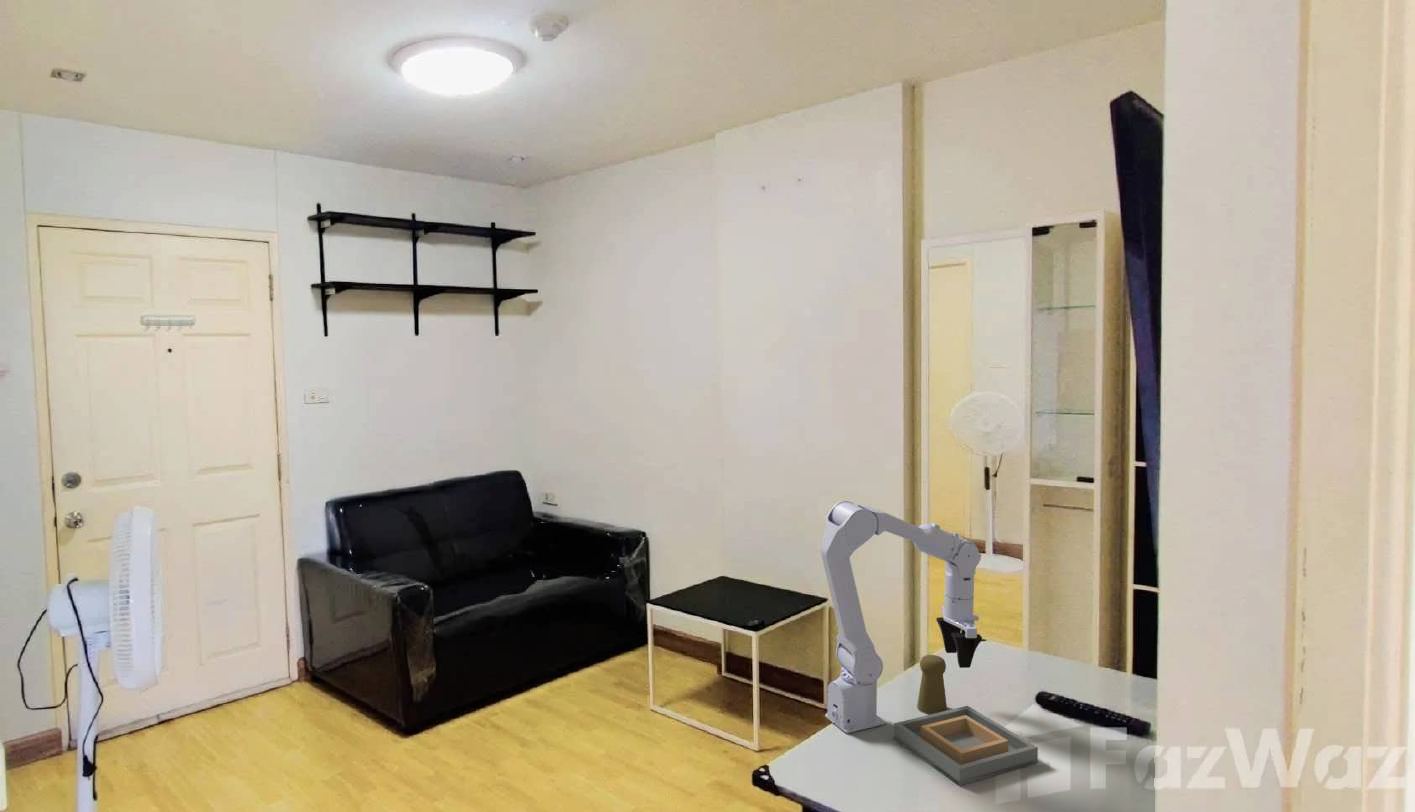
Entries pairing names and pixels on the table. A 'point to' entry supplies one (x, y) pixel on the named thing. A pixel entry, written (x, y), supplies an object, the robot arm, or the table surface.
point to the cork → (932, 685)
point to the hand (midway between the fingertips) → (957, 659)
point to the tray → (965, 744)
